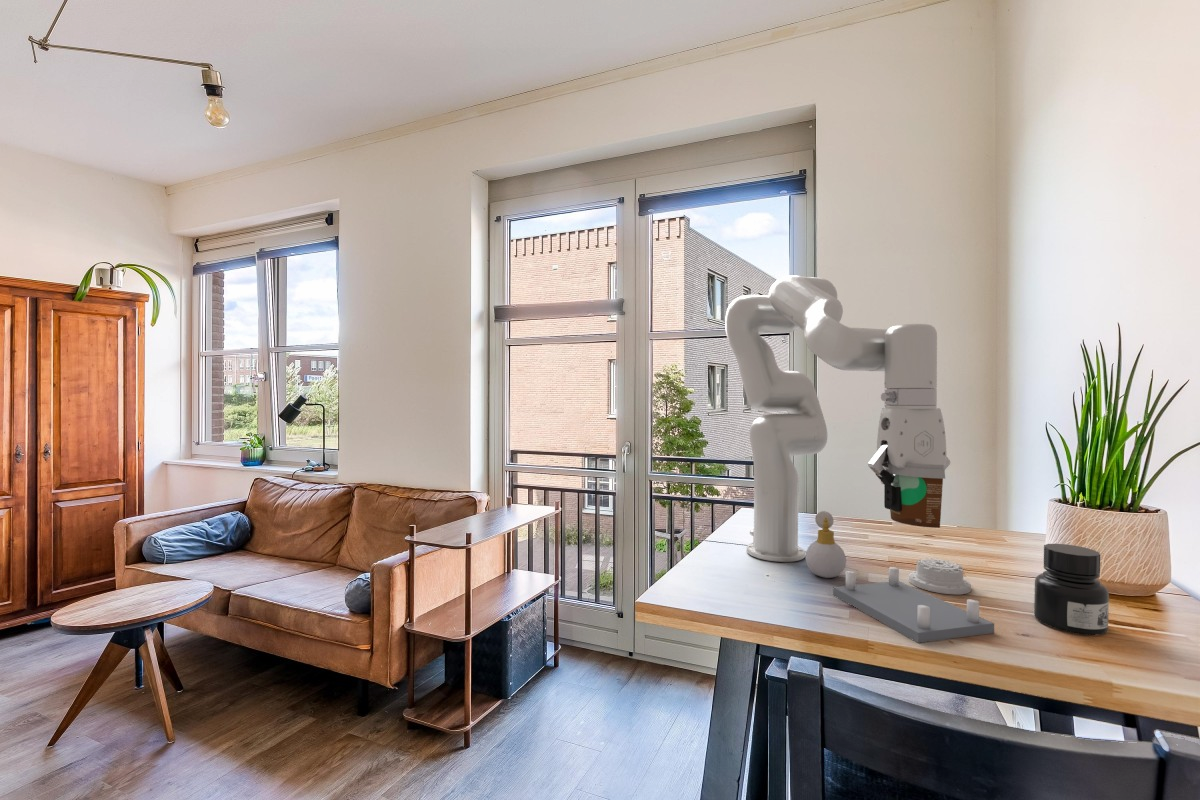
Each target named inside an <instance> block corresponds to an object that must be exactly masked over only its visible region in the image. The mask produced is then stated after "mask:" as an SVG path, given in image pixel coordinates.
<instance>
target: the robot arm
mask: <svg viewBox="0 0 1200 800" xmlns="http://www.w3.org/2000/svg"><path fill="white" fill-rule="evenodd" d="M843 312H844V311H843V305H842V303H841V301H840V300H839V299H838V292H837V289H836V287H835V286H834V284H833V283H832V282H831V281H829V280H828V279H826V278H821V277H812V276H803V275H801V276H800V275H786V276H783V277H781V278H778V279H777V280H776V281H775V282H774V283H772V285H771V286H770V288H769V292H768V295H764V294H763V295H760V294H747V295H746V294H745V295H741V296H739V297H737V298H735V299H734V300H731V302H730V304H729V305H728V308H727V309H726V313H725V319H724V320H725V322H724V326H725V327H724V328H725V334H726V338H727V340H728V343H729V345H730V347H731V349H732V352H733V354H734V356H735V359H736V361H737V364H738V371H739V374H740V377H741V382H742V385H743V389H744V392H745V396H746V399H747V402H748V404H749V406H750V407H751V408H752V410H755V411H761V412H786V413H768V414H764V415H761V416H759V417H757V418H756V419H755V420H753V422H752V424H751V426H750V428H749V441H750V446H751V451H752V458H753V459H752V460H753V488H754V489H753V529H751V530H750V531H749V535H751V536H752V537H753V538H752V542H750V543H748V544H747V545H746V552H747V554H748V555H749V556H752V557H754V558H757V559H759V560H764V561H768V562H775V563H776V562H777V563H778V562H779V563H792V562H798V561H802V560H804V558H805V559H806V550H805V549H804V548H802V547H800V546H799V474H798V471H797V469H796V467H795V464H794V463H793V461H792V459H791V457H793V456H809V455H816V454H818V453H821V452H822V451H823V450H824V449H825V447H826V445H827V444H828V428H827V425H826V420H825V417H824V413H823V410H822V408H821V404H820V401H819V397H818V393H817V391H816V388H815V386H814V383H813V382H812V380H811V379H810V377H809V376H808V375H806V374H805V373H803V372H801V371H796V370H782V369H780V368H779V366H778V364H777V361H776V356H775V353H774V351H773V350H772V347H771V345H769V343H768V342H767V341H766V340H765V339H764V338H763V337H762V335H760V334H759V332H760V333H761V332H762V333H763V332H764V333H777V334H778V333H780V334H783V333H785V334H787V333H792V332H795V331H798V330H799V329H801V330H802V331H803V336H804V340H805V342H806V343H805V344H806V346H807V347H808V349H809V350H810V352H811V353H812V354H813V355H815V356H817V357H818V358H819V359H821V361H823V362H824V363H826V364H827V365H829V366H831V367H832V368H834V369H838V370H841V371H853V372H854V371H858V372H861V371H862V372H864V371H865V372H867V371H868V372H884V392H882V393H881V394H880V399H881V401H883V402H884V407H883V408H881V413H880V416H879V422H878V423H879V424H878V427H877V428H878V429H877V440H876V444H877V445H876V453H874V455H873V456H872V458H871V459H870V460H869V461H868V464H867V465H868V467H869V468H870V469H871V471H872V472H873V473H875V477H877V478H878V480H879V481H880V483H881V484H882V485H884V488H883V489H884V495H883V496H884V497H883V498H884V502H883V503H884V505H883V506H884V508H885V509H887V510H889V511H890V510H894V511H901V510H902V500H901V487H898V486H899V475H896V474H893V476H892V475H891V474H890V473H889V472H888V471H887V469H889V467H888V464H889V461H890V462H891V464H892V465H893V466H896V468H898V469H901V470H903V469H904V468H905V467H906V465H907V463H916V464H933V465H944V470H945V471H946V470H947V469H948V467H949V466H950V465H951V460H950V459H949V458H948V456H947V439H946V438H947V437H946V430H945V422H944V418H943V413H942V409H941V408H939V407H937V405H938V402H937V401H938V398H937V397H938V396H937V395H938V394H937V393H938V388H937V387H938V386H937V385H938V333H937V330H936V328H935V326H933V325H932V324H927V323H906V324H898V325H893V326H891V327H889V328H888V329H885V328H884V329H883V328H867V327H866V328H865V327H850V326H847V325H845V324H843V323H841V320H842V318H843ZM885 464H886V465H885ZM884 467H885V468H884Z"/></svg>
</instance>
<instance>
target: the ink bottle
mask: <svg viewBox="0 0 1200 800" xmlns="http://www.w3.org/2000/svg"><path fill="white" fill-rule="evenodd" d="M1043 569H1044V571H1043V572H1042V573H1040V574H1038V575H1037V576H1036V577H1035V579H1034V598H1033V599H1034V600H1033V601H1034V602H1033V603H1034V604H1033V606H1034V607H1033V608H1034V609H1033V610H1034V611H1033V614H1034V617H1035V619H1036V620H1037V621H1038V622H1039V623H1042V624H1043V625H1047V626H1049V627H1051V628H1054V629H1057V630H1059V631H1063V632H1067V633H1071V634H1076V635H1081V636H1102V635H1104V634H1106V633H1107V632H1108V630H1109V608H1110V606H1109V605H1110V602H1109V600H1110V598H1109V597H1110V594H1109V589H1108V588H1107V587H1106V586H1105V585H1103V584H1102V582H1101V581H1100V580H1099V578H1100V576H1101V553H1100V552H1099V551H1097V550H1095V549H1092V548H1091V549H1090V548H1088V547H1084V546H1079V545H1073V544H1067V543H1047V544H1044V545H1043Z"/></svg>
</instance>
